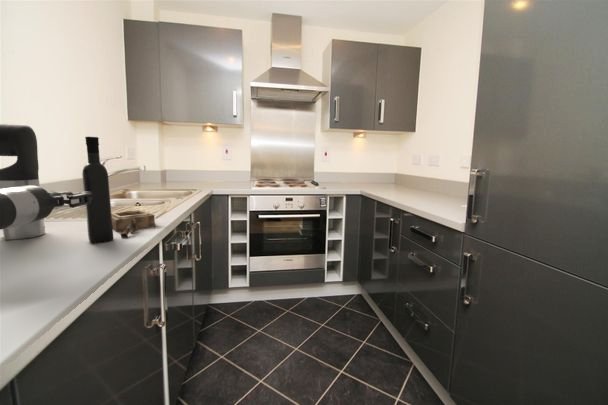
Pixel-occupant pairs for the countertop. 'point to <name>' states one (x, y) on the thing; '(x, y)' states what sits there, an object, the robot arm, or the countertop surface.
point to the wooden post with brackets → (125, 233)
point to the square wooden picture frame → (124, 218)
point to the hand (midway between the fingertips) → (71, 195)
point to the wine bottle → (97, 195)
